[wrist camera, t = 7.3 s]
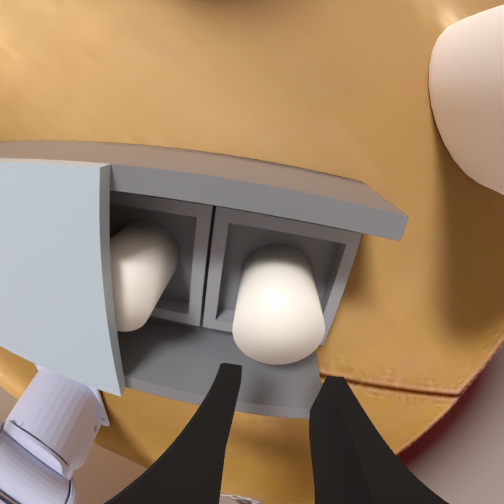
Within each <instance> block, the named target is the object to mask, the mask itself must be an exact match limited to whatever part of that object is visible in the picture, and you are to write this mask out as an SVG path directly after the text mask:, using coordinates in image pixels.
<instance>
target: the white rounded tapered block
mask: <svg viewBox="0 0 504 504" xmlns="http://www.w3.org/2000/svg"><path fill="white" fill-rule="evenodd" d="M110 259H111V276H112V289H113V301H114V311H115V320H116V328H117V331H123V332H128V331H133V330H136V329H138V328H140V327H142V326H143V325H144V324H145V323H146V321H147V320H148V318H149V316H150V314H151V313H152V311H153V309H154V307H155V305H156V304H157V302H158V300H159V298H160V297H161V295H162V293H163V291H164V290H165V288H166V286H167V284H168V283H169V281H170V279H171V278H172V276H173V274H174V272H175V271H176V269H177V267H178V265H179V261H180V250H179V246H178V243H177V241H176V239H175V237H174V236H173V234H172V233H171V232H170V231H169V230H168V229H167V228H166V227H165V226H164V225H162V224H160V223H158V222H156V221H154V220H150V219H138V220H135V221H132V222H130V223H129V224H127V225H126V226H125V227H124V228H123V229H121V230H120V231H119V232H118V233H116V234H115V235H114V236H113V237H112V238H111V239H110Z"/></svg>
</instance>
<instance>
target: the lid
mask: <svg viewBox="0 0 504 504" xmlns="http://www.w3.org/2000/svg"><path fill="white" fill-rule="evenodd" d="M110 170H111V164H107V163H95V162H81V161H66V160H47V159H17V158H0V346H1V347H3V348H5V349H7V350H8V351H10V352H12V353H14V354H16V355H18V356H20V357H22V358H24V359H26V360H28V361H31V362H33V363H35V364H37V365H39V366H41V367H44V368H46V369H48V370H50V371H53V372H55V373H57V374H60V375H62V376H65V377H67V378H70V379H72V380H75V381H77V382H80V383H82V384H85V385H88V386H91V387H93V388H96V389H99V390H102V391H105V392H108V393H111V394H114V395H117V396H120V397H121V396H122V394H123V392H124V390H125V388H126V385H125V379H124V374H123V368H122V362H121V356H120V350H119V343H118V336H117V328H116V320H115V311H114V301H113V289H112V276H111V259H110V226H109V202H110Z"/></svg>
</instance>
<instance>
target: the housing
mask: <svg viewBox="0 0 504 504" xmlns="http://www.w3.org/2000/svg"><path fill="white" fill-rule="evenodd" d="M0 158H17V159H47V160H66V161H81V162H95V163H107V164H111V170H110V202H109V226H110V239H111V238H112V237H113V236H114V235H115V234H116V233H118V232H119V231H120V230H121V229H123V228H124V227H125V226H126V225H127V224H129V223H130V222H132V221H135V220H138V219H150V220H154V221H156V222H158V223H160V224H162V225H164V226H165V227H166V228H167V229H168V230H169V231H170V232H171V233H172V234H173V236H174V237H175V239H176V241H177V243H178V246H179V250H180V261H179V265H178V267H177V269H176V271H175V272H174V274H173V276H172V278H171V279H170V281H169V283H168V284H167V286H166V288H165V290H164V291H163V293H162V295H161V297H160V298H159V300H158V302H157V304H156V305H155V307H154V309H153V311H152V313H151V314H150V316H149V318H148V320H147V321H146V323H145V324H144V325H143V326H142V327H140V328H138V329H136V330H133V331H128V332H123V331H117V336H118V343H119V350H120V356H121V362H122V368H123V374H124V379H125V385H126V387H128V388H132V389H135V390H139V391H142V392H146V393H150V394H154V395H158V396H161V397H166V398H170V399H174V400H178V401H183V402H187V403H192V404H197V405H201V403H202V402H203V400H204V398H205V397H206V395H207V393H208V392H209V390H210V388H211V386H212V384H213V382H214V380H215V377H216V375H217V373H218V370H219V366H220V364H222V363H230V364H236V365H242V377H241V385H240V390H239V394H238V398H237V403H236V407H235V411H236V412H243V413H250V414H258V415H266V416H275V417H285V418H297V419H309V418H310V409H311V407H312V405H313V403H314V401H315V399H316V397H317V395H318V393H319V391H320V389H321V383H320V376H319V369H318V362H317V356H316V350H315V351H314V352H313V353H311V354H310V355H309V356H307V357H305V358H303V359H302V360H299V361H297V362H293V363H289V364H281V365H274V364H266V363H262V362H258V361H256V360H254V359H252V358H250V357H248V356H247V355H245V354H244V353H243V352H242V351H241V350H240V349H239V348H238V346H237V345H236V343H235V341H234V338H233V333H232V328H233V321H234V314H235V308H236V302H237V296H238V290H239V284H240V279H241V273H242V268H243V265H244V262H245V261H246V259H247V258H248V256H249V255H250V254H251V253H252V252H254V251H255V250H256V249H258V248H260V247H262V246H265V245H269V244H286V245H289V246H292V247H294V248H296V249H298V250H299V251H301V252H302V253H303V254H304V255H305V256H306V258H307V259H308V261H309V263H310V266H311V269H312V273H313V277H314V281H315V285H316V289H317V293H318V297H319V301H320V305H321V309H322V313H323V318H324V322H325V334H324V337H323V340H322V342H321V343H320V345H324V342H325V340H326V337H327V335H328V332H329V330H330V327H331V325H332V322H333V319H334V317H335V314H336V311H337V309H338V306H339V303H340V300H341V298H342V295H343V292H344V289H345V286H346V283H347V281H348V278H349V275H350V272H351V269H352V266H353V263H354V260H355V257H356V253H357V250H358V247H359V244H360V241H361V237H362V233H365V234H369V235H374V236H379V237H383V238H388V239H392V240H397V241H401V239H402V236H403V233H404V230H405V227H406V223H407V220H408V216H407V215H406V214H405V213H403V212H402V211H401V210H400V209H398V208H397V207H396V206H394V205H393V204H392V203H390V202H389V201H388V200H386V199H385V198H384V197H382V196H381V195H380V194H378V193H377V192H376V191H374V190H373V189H371V188H370V187H369V186H367V185H366V184H364V183H363V182H361V181H357V180H353V179H348V178H344V177H340V176H336V175H331V174H327V173H323V172H318V171H313V170H309V169H304V168H299V167H294V166H289V165H284V164H279V163H273V162H268V161H262V160H257V159H251V158H245V157H238V156H232V155H225V154H218V153H211V152H204V151H196V150H188V149H179V148H170V147H160V146H150V145H138V144H125V143H109V142H88V141H7V142H0Z"/></svg>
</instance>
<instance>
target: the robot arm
mask: <svg viewBox="0 0 504 504" xmlns="http://www.w3.org/2000/svg"><path fill="white" fill-rule="evenodd" d="M35 365H36V367H37V370H38V373H37V374H36V376H35V377H34V378H33V380H32V381H31V383H30V384H29V386H28V387H27V389H26V390H25V391H24V393H23V394H22V396H21V397H20V399H19V400H18V402H17V404H16V405H15V406H14V408H13V409H12V411H11V413H10V414H9V416H8V417H7V419H6V420H5V421H4V422H2V423H1V422H0V492H2V493H3V494H4V495H6V496H7V497H9V498H10V499H12V500H13V501H14V502H16V503H17V504H76V502H77V498H78V490H77V485H76V482H75V480H74V478H72V475H73V472H74V470H76V469H78V468H79V467H80V466H82V465H83V463H84V462H85V460H86V458H87V456H88V453H89V451H90V449H91V446H92V444H93V442H94V440H95V438H96V435H97V433H98V431H99V429H100V426H101V425H104V426H109V425H110V422H109V419H108V416H107V413H106V410H105V407H104V404H103V401H102V398H101V394H100V391H99V389H96V388H93V387H91V386H88V385H85V384H82V383H80V382H77V381H75V380H72V379H70V378H67V377H65V376H62V375H60V374H57V373H55V372H53V371H50V370H48V369H46V368H44V367H41V366H39V365H37V364H35ZM241 377H242V365H236V364H230V363H222V364H220V366H219V370H218V373H217V375H216V377H215V380H214V382H213V384H212V386H211V388H210V390H209V392H208V393H207V395H206V397H205V398H204V400H203V402H202V403H201V405H200V407H199V408H198V410H197V411H196V413H195V414H194V416H193V417H192V418H191V420H190V421H189V423H188V424H187V425H186V427H185V428H184V429H183V431H182V432H181V433H180V435H179V436H178V437H177V438H176V440H175V441H174V442H173V443H172V444H171V445H170V446H169V448H168V449H167V450H166V451H165V452H164V453H163V454H162V455H161V456H160V457H159V458H158V459H157V460H156V461H155V462H154V463H153V464H152V465H151V466H150V467H149V468H148V469H147V470H146V471H145V472H144V473H143V474H142V475H141V476H140V477H138V478H137V479H136V480H135V481H133V482H132V483H131V484H130V485H129V486H128V487H126V488H125V489H124V490H122V491H121V492H120V493H119V494H117V495H116V496H114V497H113V498H112V499H110V500H109V501H107V502H106V503H104V504H219V498H220V490H221V481H222V473H223V465H224V457H225V449H226V444H227V440H228V436H229V432H230V428H231V424H232V420H233V415H234V411H235V407H236V403H237V398H238V394H239V390H240V385H241ZM309 438H310V448H311V457H312V466H313V476H314V485H315V504H449V503H447V502H446V501H444V500H443V499H442V498H440V497H439V496H438V495H436V494H435V493H434V492H432V491H431V490H430V489H429V488H428V487H427V486H425V485H424V484H423V483H422V482H421V481H420V480H418V478H416V476H414V475H413V474H412V473H411V472H410V471H409V470H408V468H407V467H406V466H405V465H404V464H403V463H402V462H401V461H400V460H399V459H398V457H397V456H396V455H395V454H394V453H393V451H392V450H391V449H390V448H389V446H388V445H387V444H386V442H385V441H384V439H383V438H382V437H381V435H380V434H379V433H378V431H377V430H376V428H375V427H374V425H373V424H372V422H371V421H370V419H369V418H368V416H367V415H366V413H365V411H364V410H363V408H362V407H361V405H360V403H359V402H358V400H357V398H356V397H355V395H354V393H353V392H352V390H351V388H350V387H349V385H348V383H347V382H346V380H345V379H344V377H335V376H327V377H326V379H325V381H324V383H323V385H322V387H321V389H320V391H319V393H318V395H317V397H316V399H315V401H314V403H313V405H312V407H311V409H310V418H309ZM0 504H13V503H12V502H10V501H9V500H7V499H6V498H5V497H3V496H2V495H0Z"/></svg>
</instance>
